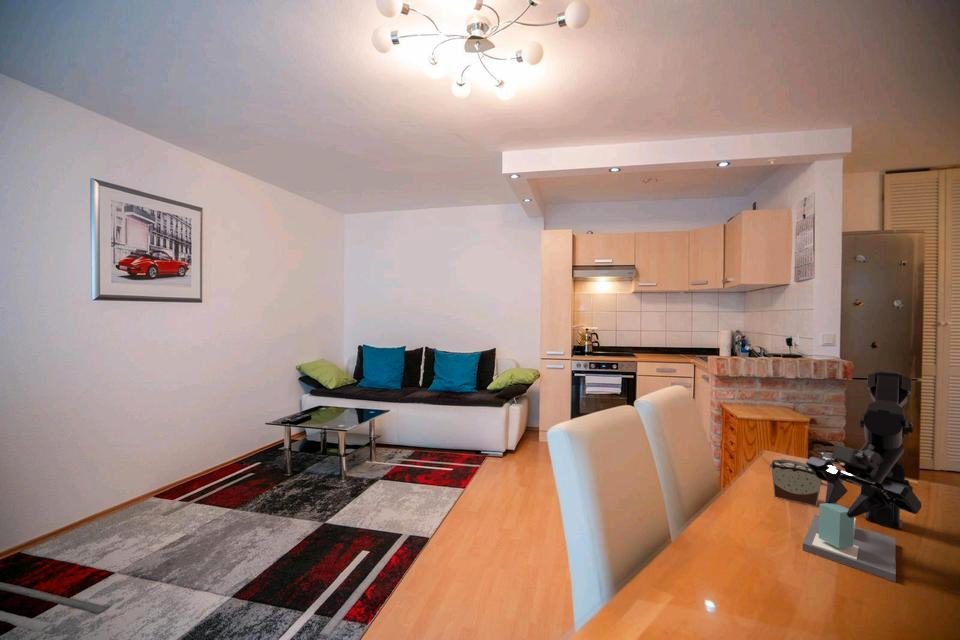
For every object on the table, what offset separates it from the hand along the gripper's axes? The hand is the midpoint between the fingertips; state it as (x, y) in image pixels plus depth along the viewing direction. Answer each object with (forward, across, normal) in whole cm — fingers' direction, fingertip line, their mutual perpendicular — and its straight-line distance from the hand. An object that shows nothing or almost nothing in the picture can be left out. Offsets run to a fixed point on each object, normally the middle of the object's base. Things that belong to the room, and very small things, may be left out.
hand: (837, 511), depth 86 cm
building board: (+2, -1, +11) cm, 11 cm away
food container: (-7, -24, +20) cm, 32 cm away
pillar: (+5, 0, +4) cm, 7 cm away
